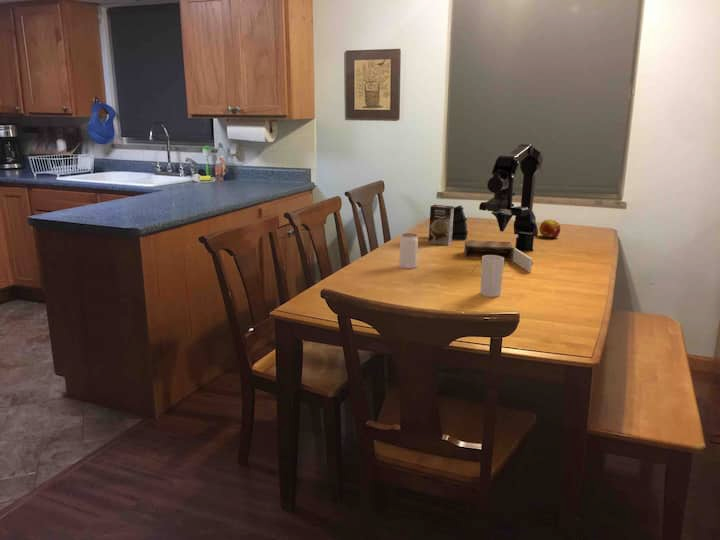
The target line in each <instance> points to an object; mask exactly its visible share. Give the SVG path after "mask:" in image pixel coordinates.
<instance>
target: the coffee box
mask: <svg viewBox="0 0 720 540" xmlns="http://www.w3.org/2000/svg"><path fill="white" fill-rule="evenodd" d="M454 208H455V206H453V205H441V204H433V205H430V211H429V213H430V214H429V227H428V228H429V229H428V231H429V232H428V244H432V243H433V244H434V245H443V246H450V244H452V243H453V240H452V229H453V215H454Z"/></svg>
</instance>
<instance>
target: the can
mask: <svg viewBox="0 0 720 540" xmlns="http://www.w3.org/2000/svg"><path fill="white" fill-rule="evenodd" d="M399 240H400V241H399V261H398V262H399V264H398V265H399V267H400V268H401V269H404V268H405V270H413V269H412V268H414V269H416V268H417V267H418V248H419V239H418V234H416V233H406V232H405V233H402V234H401V236H400V239H399Z"/></svg>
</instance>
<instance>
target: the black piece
mask: <svg viewBox="0 0 720 540" xmlns="http://www.w3.org/2000/svg"><path fill="white" fill-rule="evenodd" d="M467 220H468V218H467V217H466V215H465V212H464V207H463V206H462V204H460V205H457V206H454V215H453V229H452V239H453V240H459V239H461V240H463V241H465V240H468V234H469V231H468V225H467Z"/></svg>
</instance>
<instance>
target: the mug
mask: <svg viewBox="0 0 720 540" xmlns="http://www.w3.org/2000/svg"><path fill="white" fill-rule="evenodd" d="M504 264H505V260H504V257H501V256H497V255H485V256H482V259H481V274H480V291H479V292H480V294H481V296H484V297H489V298H496V297H500V296H501V294H502V293H501V292H502V284H503V274H504Z"/></svg>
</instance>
